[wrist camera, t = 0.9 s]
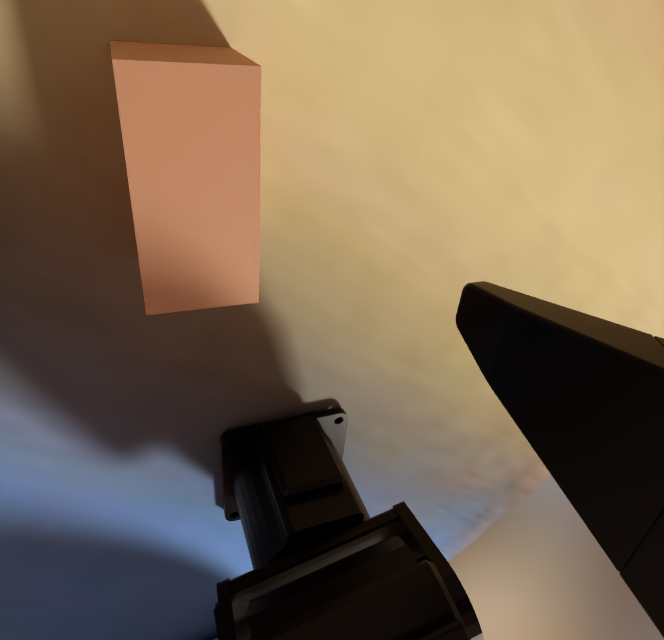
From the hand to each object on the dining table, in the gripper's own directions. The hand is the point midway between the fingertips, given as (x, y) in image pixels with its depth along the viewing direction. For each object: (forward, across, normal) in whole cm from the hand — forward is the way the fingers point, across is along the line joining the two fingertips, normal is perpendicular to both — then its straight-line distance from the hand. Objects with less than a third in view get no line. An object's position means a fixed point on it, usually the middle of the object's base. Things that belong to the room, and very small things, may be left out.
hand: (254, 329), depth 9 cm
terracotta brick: (+10, 0, 0) cm, 10 cm away
